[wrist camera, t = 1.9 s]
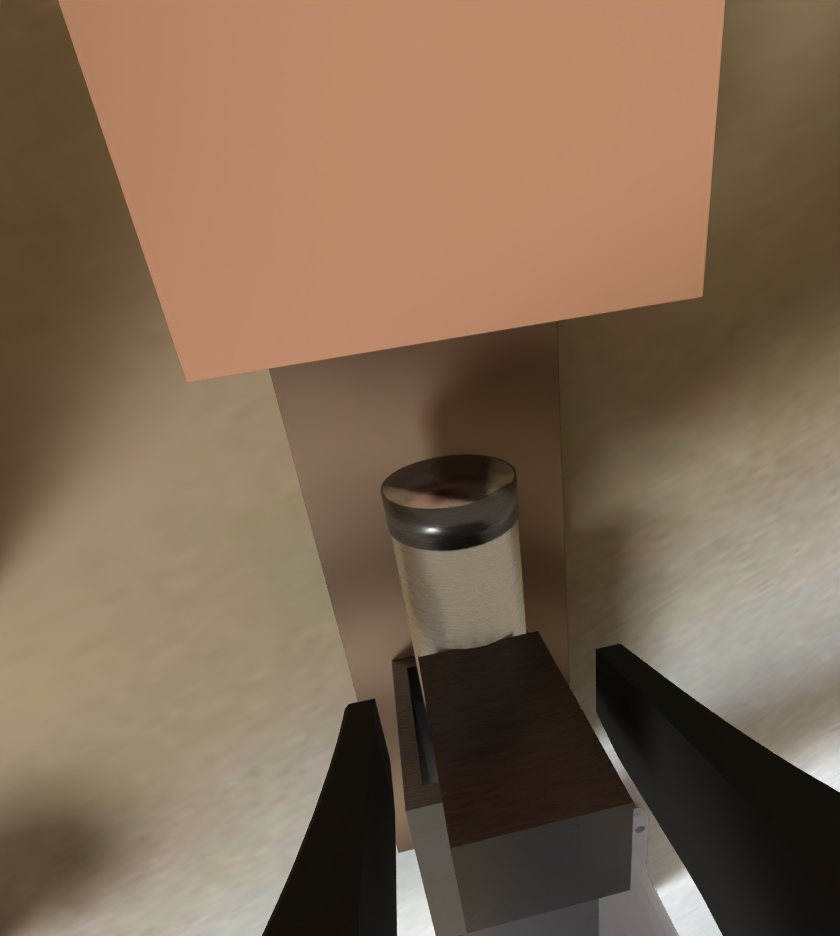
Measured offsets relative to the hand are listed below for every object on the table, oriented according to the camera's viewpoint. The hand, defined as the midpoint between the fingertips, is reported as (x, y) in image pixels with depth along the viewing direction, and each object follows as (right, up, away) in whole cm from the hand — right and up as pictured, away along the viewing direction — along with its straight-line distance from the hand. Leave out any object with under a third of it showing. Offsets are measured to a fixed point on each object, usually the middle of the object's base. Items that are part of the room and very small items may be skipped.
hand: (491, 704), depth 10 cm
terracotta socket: (-2, +12, 0) cm, 12 cm away
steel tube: (0, -1, +5) cm, 5 cm away
